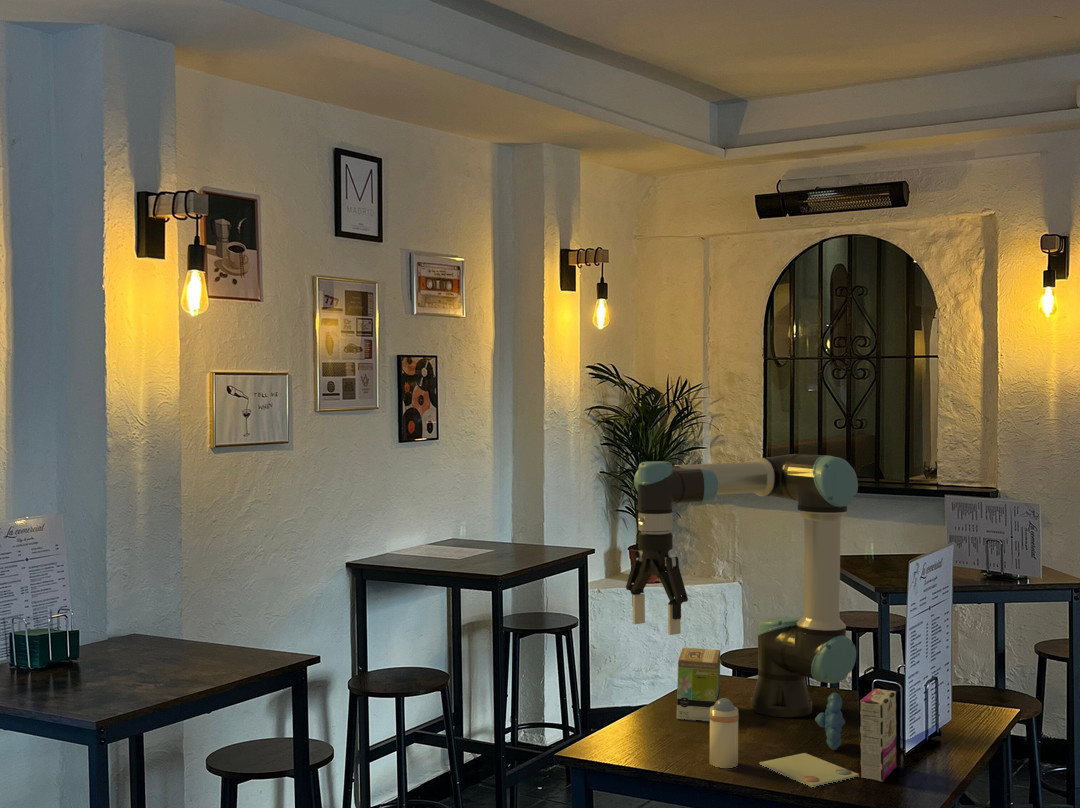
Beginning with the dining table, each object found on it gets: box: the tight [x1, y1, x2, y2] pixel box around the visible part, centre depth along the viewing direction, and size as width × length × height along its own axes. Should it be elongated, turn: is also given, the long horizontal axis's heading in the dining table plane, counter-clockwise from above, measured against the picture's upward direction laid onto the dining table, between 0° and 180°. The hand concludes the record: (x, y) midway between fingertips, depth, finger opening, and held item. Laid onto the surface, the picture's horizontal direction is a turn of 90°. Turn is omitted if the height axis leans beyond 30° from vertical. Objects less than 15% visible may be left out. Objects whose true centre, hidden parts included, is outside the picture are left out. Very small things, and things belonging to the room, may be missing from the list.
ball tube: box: [709, 697, 740, 768], centre depth 241 cm, size 6×6×14 cm
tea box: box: [676, 647, 721, 722], centre depth 280 cm, size 15×10×15 cm
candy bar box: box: [859, 688, 897, 783], centre depth 236 cm, size 11×5×16 cm, turn 148°
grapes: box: [814, 691, 846, 751], centre depth 254 cm, size 12×7×12 cm, turn 163°
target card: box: [759, 752, 860, 788], centre depth 237 cm, size 13×16×1 cm
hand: (656, 628), depth 247 cm, fingers open, 13 cm apart
